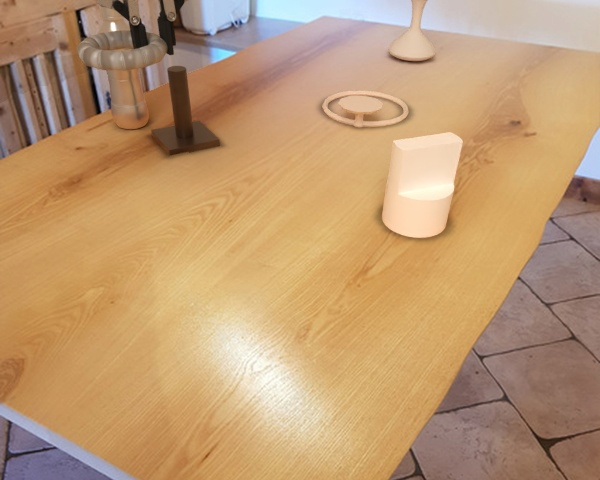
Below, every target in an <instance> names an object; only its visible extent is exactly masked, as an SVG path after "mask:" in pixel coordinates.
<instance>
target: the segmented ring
mask: <svg viewBox="0 0 600 480" xmlns="http://www.w3.org/2000/svg"><path fill="white" fill-rule="evenodd" d="M146 34H147V40H148V45H147V46H144V47H141V48H137V49H134V48H133V44H132V38H131V32H130V30H120V31H112V32H103V33H100V34H98V33H97V34H93V35H90V36H87V37H85V38H84V39H83V40H82V41H81V42H80V43H79V44H78V45H77V46H76V55H77V56H78V58H79V59H80V61H82V63H83V64H84V65H85V66H87V67H89V68H94V69H97V70H101V71H106V70H119V71H125V70H132V69H139V70H140V69H144V68H148V67H150V66H153V65H155V64H157V63H160V62H161V61H162V60H163V59H164V58H165V57H166V54H167V50H168V47H167V44H166V42H165V41H164V40H163V39H162V38H160V36H159V34H156V33H153V32H148V31H146ZM119 49H130V50H123V51H112V50H119Z"/></svg>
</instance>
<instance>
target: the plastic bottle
mask: <svg viewBox="0 0 600 480" xmlns="http://www.w3.org/2000/svg"><path fill="white" fill-rule="evenodd" d="M98 9H99V13H100V14H99V16H100V19H101V20H102V24H101V26H100V28H99V31H98V32H97V34H100V33H103V32H112V31H120V30H130V26H129V24H127V22H126V21H125V18H124V17H123V16H122V15H121V14H119V13H118V12H117V11H115V10H113V9H110V8H107V7H105V6H102V5H99V4H98ZM123 50H130V49H119V50H112V51H123ZM105 71H106V75H107V79H108V80H107V81H108V84H109V93H110V100H111V101H110V113H111V116H112V120H113V122H114V123H115V124H116V125H117V126H118V127H119V128H121V129H125V130H137V129H140V128H142V127H145V126H146V125H147V124H148V122H149V120H150V110H149V107H148V103H147V100H146V99H145V94H144V92H143V87H142V83H141V77H140V68H139V69H132V70H125V71H119V70H105Z"/></svg>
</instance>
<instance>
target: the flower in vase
mask: <svg viewBox="0 0 600 480" xmlns="http://www.w3.org/2000/svg"><path fill="white" fill-rule="evenodd" d="M410 1H411V9H412V10H411V19H410V24H409V28H408V29H407V30H406V31H405V32H404V33H403V34H401V35H400V36H398V37H397V38H395V40H393V41H392V42H391V44H389V46H388V49H387V50H388V53H389V54H390V55H391V56H393V57H395V58H397V59H399V60H403V61H410V62H420V61H426V60H429V59H431V58H433V57H434V56H435V55H436V48H435V46H434V45H433V43H432V41H430V39H428V37H427V36H426V35H425V34H424V33H423V31H422V28H421V27H422V26H421V24H422V17H423V12H424V9H425V6H426V4H427V2H428V0H410Z"/></svg>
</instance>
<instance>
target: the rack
mask: <svg viewBox="0 0 600 480" xmlns="http://www.w3.org/2000/svg"><path fill="white" fill-rule="evenodd" d="M187 71H188V70H187V67H186V66H183V65H172V66H169V67H167V68H166V72H167V79H168V87H169V94H170V101H171V108H172V116H173V125H169V126H165V127H160V128H155V129H151V130H150V132H151V137H152V138H153V139H154V141H155V143H157V144H158V146H159V147H161V148H162V151H164V152H165V153H166V155H167V156H168V157H170V156H176V155H179V154H184V153H185V154H186V153H193V152H194V153H195V152H198V151H203V150H207V149H212V148H216V147H220V146H221V142H220V138H219V137H217V135H215V133H213V132H212V131H211V130H210V129H209V128H208V127H207V126H206V125H205V124H203V122H202V121H201V120H194V121H193V117H192V116H193V115H192V108H191V99H190V89H189V80H188V72H187Z"/></svg>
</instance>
